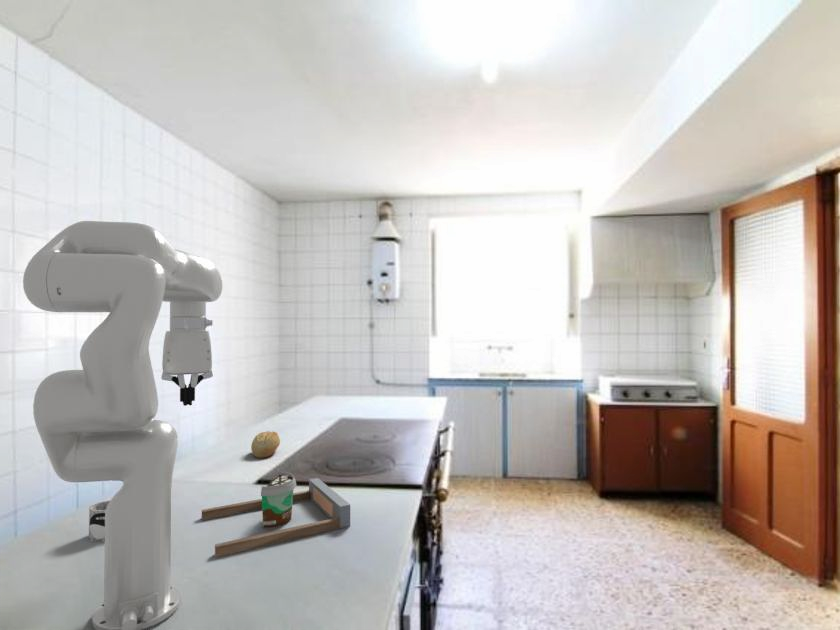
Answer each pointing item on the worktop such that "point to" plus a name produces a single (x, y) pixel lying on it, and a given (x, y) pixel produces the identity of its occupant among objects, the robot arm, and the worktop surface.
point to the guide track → (271, 536)
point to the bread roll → (265, 444)
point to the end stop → (329, 502)
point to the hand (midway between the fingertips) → (187, 404)
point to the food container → (278, 500)
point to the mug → (97, 521)
